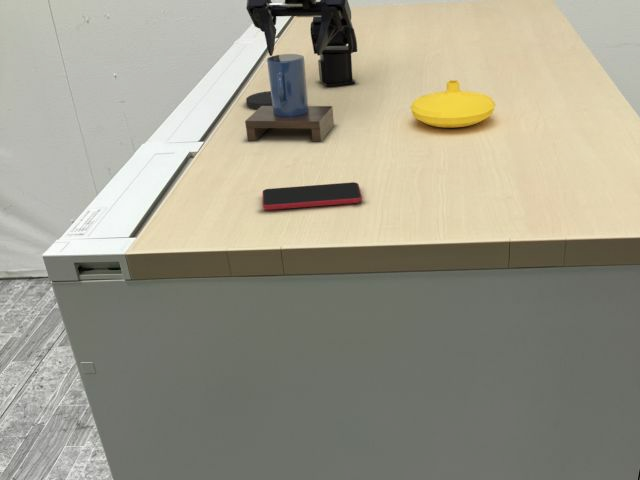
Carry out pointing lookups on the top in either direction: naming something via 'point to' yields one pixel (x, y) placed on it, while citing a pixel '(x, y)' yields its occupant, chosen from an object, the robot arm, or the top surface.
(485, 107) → the vase
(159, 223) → the top surface
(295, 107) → the mug
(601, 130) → the top surface
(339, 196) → the smartphone
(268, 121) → the shelf
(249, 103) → the coaster
